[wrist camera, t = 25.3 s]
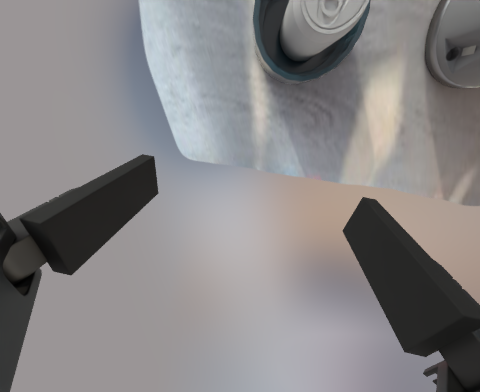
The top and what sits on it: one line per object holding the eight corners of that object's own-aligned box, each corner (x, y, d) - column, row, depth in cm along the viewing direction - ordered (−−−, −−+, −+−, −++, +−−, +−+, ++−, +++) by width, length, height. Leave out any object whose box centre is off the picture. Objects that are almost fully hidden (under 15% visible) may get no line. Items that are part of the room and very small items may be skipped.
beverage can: (336, 8, 23) (404, -66, 12) (314, 68, 26) (354, 48, 16) (288, -6, 23) (317, -96, 12) (272, 55, 26) (284, 27, 15)
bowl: (362, -26, 22) (396, -66, 17) (326, 89, 28) (342, 87, 22) (263, -41, 22) (265, -84, 17) (248, 78, 28) (246, 73, 23)
